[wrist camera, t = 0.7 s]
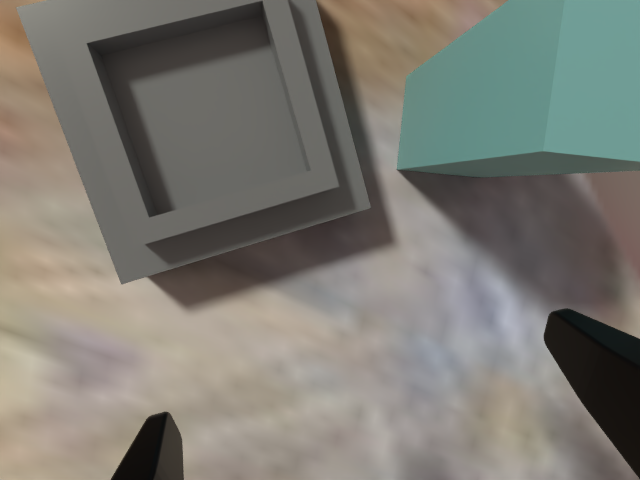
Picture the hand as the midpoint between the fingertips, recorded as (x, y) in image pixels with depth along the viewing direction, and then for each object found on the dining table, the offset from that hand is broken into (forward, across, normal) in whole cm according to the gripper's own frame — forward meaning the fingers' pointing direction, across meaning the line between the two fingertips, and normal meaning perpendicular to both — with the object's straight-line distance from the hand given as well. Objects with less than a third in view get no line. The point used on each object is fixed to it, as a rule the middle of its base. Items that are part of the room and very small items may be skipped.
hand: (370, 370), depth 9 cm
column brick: (+15, -9, 0) cm, 17 cm away
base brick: (+16, +3, -2) cm, 16 cm away
